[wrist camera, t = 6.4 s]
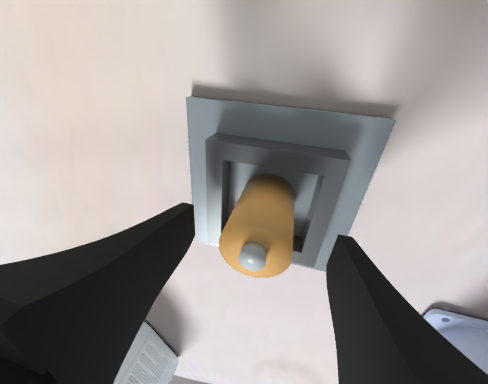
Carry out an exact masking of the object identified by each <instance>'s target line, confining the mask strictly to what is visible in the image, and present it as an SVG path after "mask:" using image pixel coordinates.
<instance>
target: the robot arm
mask: <svg viewBox="0 0 488 384" xmlns="http://www.w3.org/2000/svg"><path fill="white" fill-rule="evenodd" d="M194 237H195V218H194V205H193V204H188V203H181V204H179V205H176V206H174V207H172V208H170V209H168V210H166V211H164V212H162V213H160V214H158V215H156V216H154V217H152V218H150V219H148V220H146V221H144V222H142V223H140V224H137V225H135V226H133V227H131V228H129V229H126V230H124V231H122V232H119V233H117V234H114V235H111V236H109V237H106V238H103V239H100V240H98V241H95V242H91V243H88V244H85V245H82V246H78V247H75V248H72V249H69V250H65V251H61V252H57V253H54V254H50V255H45V256H41V257H37V258H33V259H28V260H24V261H19V262H13V263H8V264H3V265H0V384H113V383H114V381H115V378H116V376H117V374H118V372H119V370H120V368H121V365H122V363H123V361H124V359H125V357H126V355H127V353H128V351H129V349H130V347H131V345H132V343H133V341H134V339H135V337H136V335H137V333H138V331H139V329H140V327H141V325H142V323H143V321H144V320H145V318H146V316H147V314H148V312H149V310H150V308H151V307H152V305H153V303H154V301H155V299H156V298H157V296H158V294H159V293H160V291H161V289H162V288H163V286H164V285H165V283H166V282H167V281H168V279H169V278H170V276H171V275H172V273H173V272H174V270H175V269H176V267H177V266H178V264H179V263H180V261H181V260H182V258H183V257H184V255H185V254H186V252H187V251H188V249H189V247H190V245H191V243H192V241H193V239H194ZM326 276H327V290H328V296H329V303H330V309H331V315H332V321H333V327H334V333H335V340H336V348H337V362H338V377H339V384H488V321H485V320H481V319H477V318H473V317H468V316H464V315H460V314H456V313H452V312H448V311H444V310H439V309H431V310H429V311H428V312H427V313H426V314H425V315H424V317H422V316H421V315H420V314H419V313H418V312H417V311H416V310H415V309H414V308H413V307H412V306H411V305H410V304H409V303H408V302H407V301H406V300H405V299H404V297H403V296H402V295H401V294H400V293H399V292H398V291H397V290H396V289H395V288H394V287H393V286H392V284H391V283H390V282H389V281H388V280H387V279H386V278H385V276H384V275H383V274H382V273H381V272H380V271H379V269H378V268H377V267H376V266H375V265H374V263H373V262H372V261H371V260H370V258H369V257H368V256H367V255H366V253H365V252H364V251H363V250H362V248H361V247H360V246H359V245H358V243H357V242H356V241H355V240H354V239H353V237H349V236H344V235H339V234H338V236H337V239H336V241H335V244H334V247H333V249H332V252H331V254H330V257H329V259H328V262H327V265H326Z"/></svg>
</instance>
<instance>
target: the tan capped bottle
mask: <svg viewBox="0 0 488 384" xmlns="http://www.w3.org/2000/svg"><path fill="white" fill-rule="evenodd" d="M294 207H295V194H294V191H293V188H292V187H291V185H290V184H289V183H288V182H287V181H286V180H285V179H283V178H282V177H280V176H277V175H274V174H261V175H257V176H255V177H253V178H252V179H251V180H249V181H248V183H247V184H246V186H245V188H244V190H243V192H242V194H241V196H240V198H239V200H238V202H237V204H236V206H235V208H234V210H233V212H232V214H231V215H230V217H229V219H228V221H227V223H226V225H225V227H224V229H223V231H222V233H221V235H220V238H219V250H220V253H221V255H222V257H223V258H224V260H225V261H226V262H227V263H228V264H229V265H230V266H231V267H232V268H234V269H235V270H237V271H239V272H241V273H243V274H245V275H248V276H252V277H258V278H267V277H273V276H276V275H279V274H281V273H282V272H284V271H285V270H286V269H287V268H288V267H289V265H290V264H291V261H292V255H293V231H294Z"/></svg>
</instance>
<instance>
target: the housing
mask: <svg viewBox="0 0 488 384" xmlns="http://www.w3.org/2000/svg"><path fill="white" fill-rule="evenodd" d="M186 104H187V121H188V138H189V155H190V171H191V188H192V204H193V205H194V218H195V237H194V238H195V241H197V242H201V243H205V244H210V245H214V246H218V247H219V238H220V235H221V233H222V231H223V229H224V227H225V225H226V223H227V221H228V219H229V217H230V215H231V214H232V212H233V210H234V208H235V206H236V204H237V202H238V200H239V198H240V196H241V194H242V192H243V190H244V188H245V186H246V184H247V183H248V181H249V180H251V179H252V178H253V177H255V176H257V175H261V174H274V175H277V176H280V177H282V178H283V179H285V180H286V181H287V182H288V183H289V184H290V185H291V187H292V188H293V191H294V194H295V207H294V231H293V255H292V261H291V264H295V265H300V266H304V267H308V268H312V269H317V270H321V271H325V272H326V265H327V262H328V259H329V257H330V254H331V252H332V249H333V247H334V244H335V241H336V239H337V236H338V234H339V235H344V236H348V233H349V231H350V228H351V226H352V224H353V221H354V219H355V217H356V214H357V212H358V209H359V207H360V205H361V202H362V200H363V198H364V195H365V193H366V190H367V188H368V186H369V183H370V181H371V179H372V176H373V174H374V171H375V169H376V167H377V164H378V162H379V160H380V157H381V155H382V152H383V150H384V148H385V145H386V143H387V141H388V138H389V136H390V133H391V131H392V129H393V126H394V124H395V122H396V120H395V119H393V118H386V117H377V116H368V115H359V114H350V113H340V112H331V111H322V110H313V109H303V108H294V107H285V106H276V105H267V104H257V103H248V102H239V101H230V100H221V99H211V98H202V97H193V96H189V97H186Z"/></svg>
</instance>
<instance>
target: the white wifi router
mask: <svg viewBox="0 0 488 384" xmlns="http://www.w3.org/2000/svg"><path fill="white" fill-rule="evenodd" d="M177 365H178V358H177V356H176V355H175V354H174V353H173V352H172V351H171V349H170V348H169V347H168V346H167V345H166V344H165V343H164V342H163V340H162V339H161V338H160V337H159V336H158V335H157V334H156V332H155V331H154V330H153V329H152V328H151V327H150V326H149V325H148V324H147V323H146V322H145V321H143V323H142V325H141V327H140V329H139V331H138V333H137V335H136V337H135V339H134V341H133V343H132V345H131V347H130V349H129V351H128V353H127V355H126V357H125V359H124V361H123V363H122V365H121V368H120V370H119V372H118V374H117V376H116V378H115V381H114V383H113V384H169V383H170V381H171V379H172V376H173V374H174V372H175V370H176V367H177Z"/></svg>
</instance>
